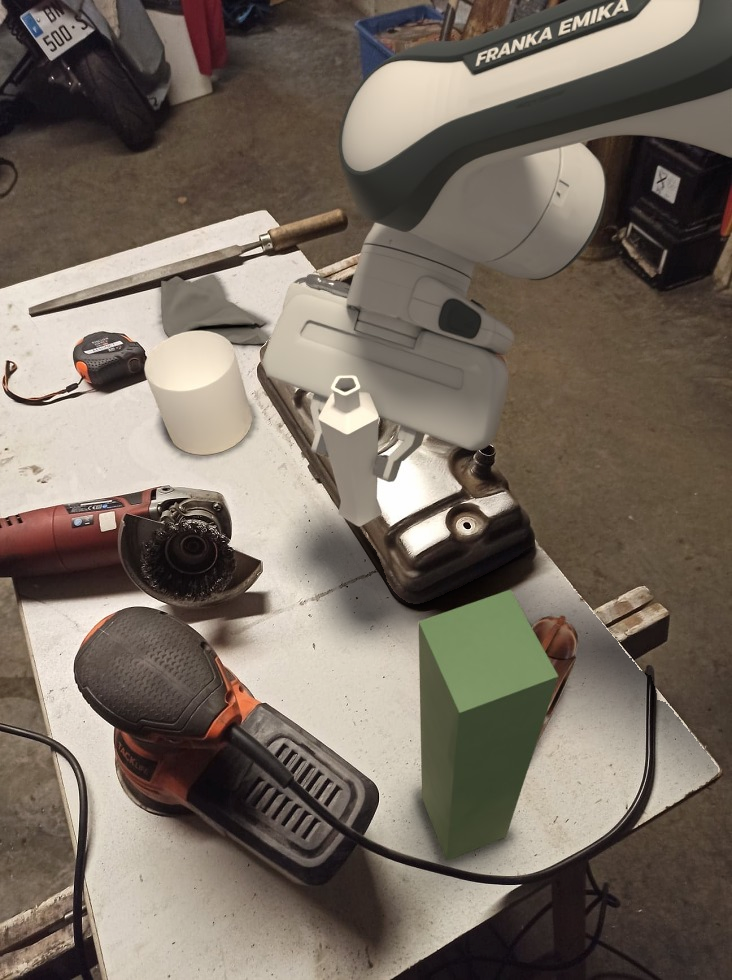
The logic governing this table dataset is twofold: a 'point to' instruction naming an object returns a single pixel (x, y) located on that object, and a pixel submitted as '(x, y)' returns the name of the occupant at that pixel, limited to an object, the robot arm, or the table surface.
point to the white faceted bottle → (352, 448)
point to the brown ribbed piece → (557, 653)
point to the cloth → (206, 311)
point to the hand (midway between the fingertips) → (352, 466)
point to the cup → (199, 391)
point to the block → (479, 717)
